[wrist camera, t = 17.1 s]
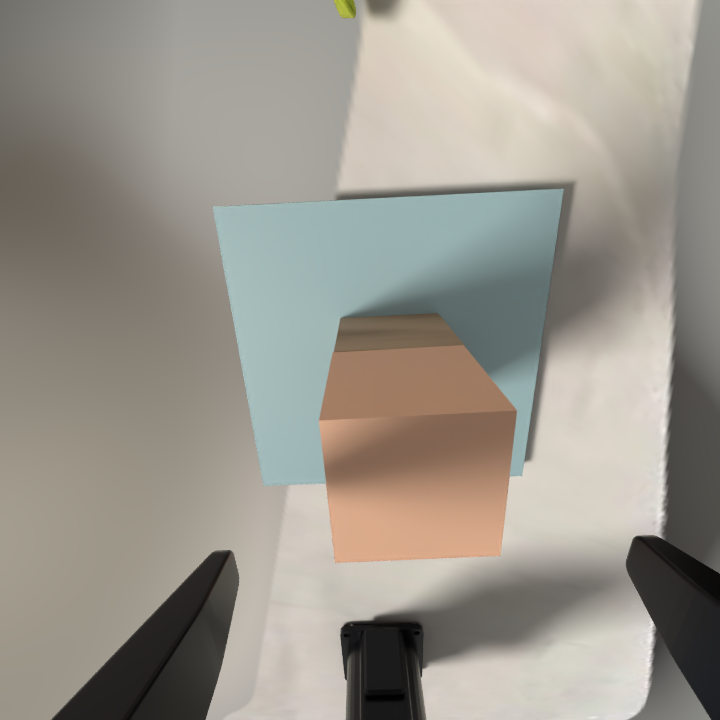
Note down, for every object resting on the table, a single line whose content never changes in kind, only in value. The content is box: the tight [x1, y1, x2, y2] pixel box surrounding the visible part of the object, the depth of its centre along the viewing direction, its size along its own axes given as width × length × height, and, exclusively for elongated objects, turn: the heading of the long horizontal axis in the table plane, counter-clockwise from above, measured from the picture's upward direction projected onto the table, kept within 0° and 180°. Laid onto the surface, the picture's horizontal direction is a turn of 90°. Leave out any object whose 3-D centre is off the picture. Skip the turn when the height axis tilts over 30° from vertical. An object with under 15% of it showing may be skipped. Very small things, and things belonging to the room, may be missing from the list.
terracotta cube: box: [319, 345, 517, 563], centre depth 12 cm, size 5×5×5 cm
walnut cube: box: [334, 313, 465, 352], centre depth 17 cm, size 5×5×5 cm
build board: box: [213, 189, 564, 486], centre depth 20 cm, size 16×16×1 cm
